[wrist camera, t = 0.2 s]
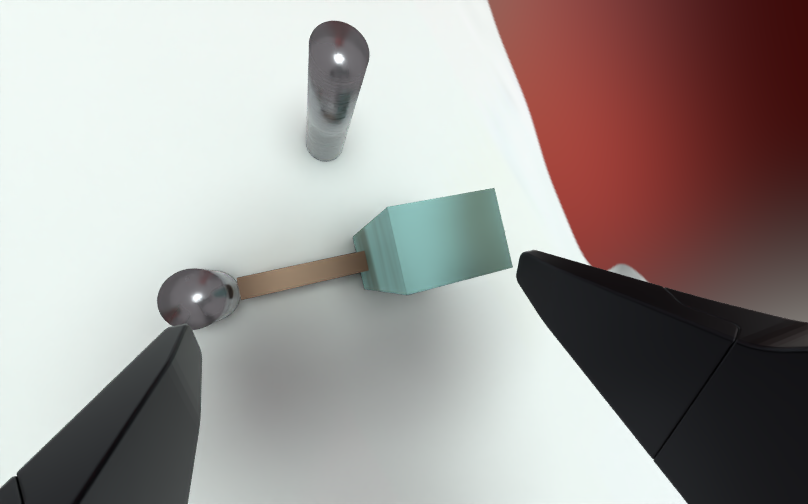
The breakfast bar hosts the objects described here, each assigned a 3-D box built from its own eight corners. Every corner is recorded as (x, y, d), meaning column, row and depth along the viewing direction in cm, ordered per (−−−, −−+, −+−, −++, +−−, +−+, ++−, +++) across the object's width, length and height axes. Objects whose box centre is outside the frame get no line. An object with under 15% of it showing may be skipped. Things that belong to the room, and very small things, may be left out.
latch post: (349, 148, 24) (381, 59, 14) (322, 168, 23) (336, 89, 14) (326, 120, 24) (343, 10, 14) (298, 139, 23) (295, 38, 13)
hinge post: (250, 297, 21) (239, 300, 17) (208, 331, 20) (187, 343, 17) (217, 260, 21) (197, 256, 17) (172, 293, 20) (142, 296, 16)
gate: (253, 316, 21) (214, 346, 12) (241, 259, 21) (192, 241, 12) (432, 272, 24) (512, 267, 15) (421, 223, 25) (494, 188, 15)
